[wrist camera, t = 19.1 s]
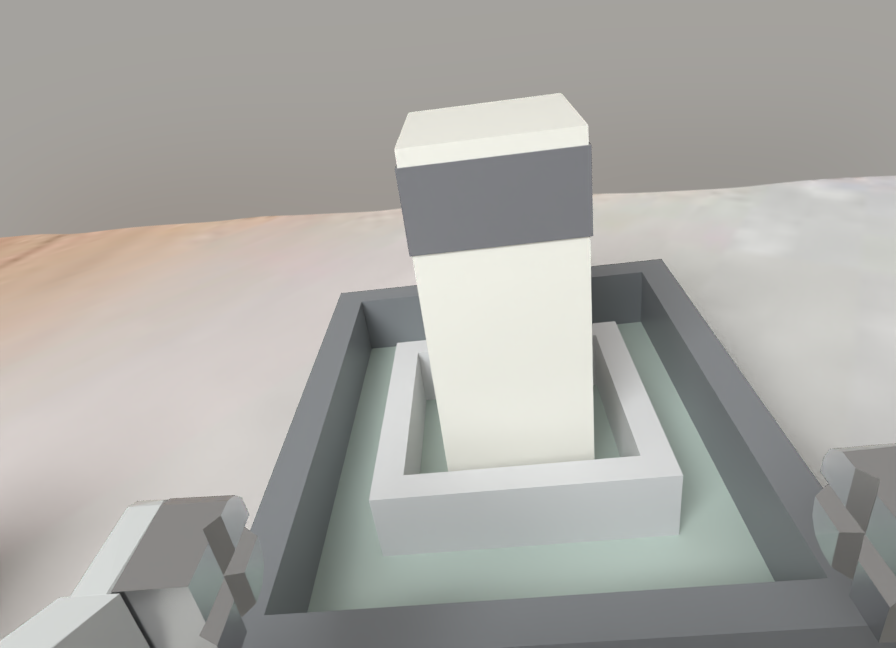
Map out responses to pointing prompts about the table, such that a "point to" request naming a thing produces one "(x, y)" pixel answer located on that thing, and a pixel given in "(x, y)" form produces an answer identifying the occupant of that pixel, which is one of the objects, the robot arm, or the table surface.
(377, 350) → the walled box
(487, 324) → the plastic plug
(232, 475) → the table surface
